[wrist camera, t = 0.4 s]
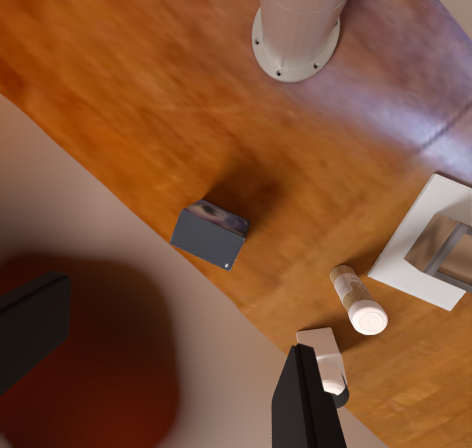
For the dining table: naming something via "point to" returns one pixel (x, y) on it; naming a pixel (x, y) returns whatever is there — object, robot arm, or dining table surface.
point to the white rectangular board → (426, 205)
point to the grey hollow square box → (444, 252)
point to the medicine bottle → (328, 362)
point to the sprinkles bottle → (358, 301)
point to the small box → (210, 233)
